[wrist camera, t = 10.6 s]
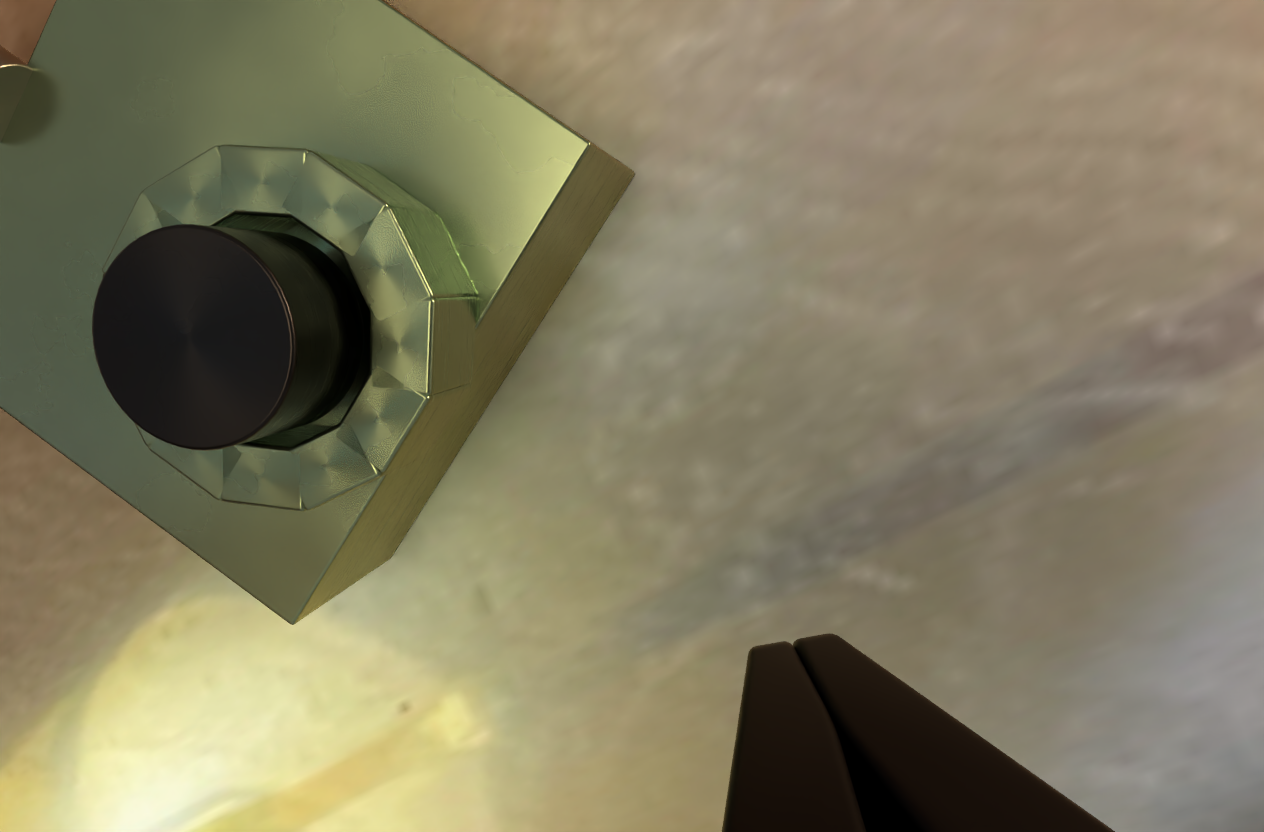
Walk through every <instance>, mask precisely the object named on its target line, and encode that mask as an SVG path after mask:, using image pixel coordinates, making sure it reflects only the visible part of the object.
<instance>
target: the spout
mask: <svg viewBox="0 0 1264 832" xmlns="http://www.w3.org/2000/svg"><path fill="white" fill-rule="evenodd" d="M32 71H33V69H32V68H31V67H30V66H28V65H27V64H26V63H24V62H23V61H22V60H20V59H19V58H17V57H16V56H15V55H13V54H12V53H10V52H9V51H8V50H6V49H5V48H3V47H2V46H1V45H0V142H1V140H2V138H3V136H4V134H5V132H6V129H7V127H8V125H9V123H10V120H11V118H12V116H13V114H14V112H15V109H16V107H17V105H18V103H19V100H20V98H21V96H22V94H23V92H24V89H25V87H26V85H27V83H28V80H29V78H30V76H31V74H32Z"/></svg>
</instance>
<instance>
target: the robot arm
mask: <svg viewBox="0 0 1264 832" xmlns="http://www.w3.org/2000/svg"><path fill="white" fill-rule="evenodd" d="M722 832H1115V831H1113V830H1112V829H1111V828H1109V827H1108V826H1106V825H1105V824H1104V823H1102V822H1101V821H1099V820H1098V819H1097V818H1095V817H1094V816H1092V815H1091V814H1089V813H1088V812H1087V811H1085V810H1084V809H1082V808H1081V807H1080V806H1078V805H1077V804H1075V803H1074V802H1072V801H1071V800H1070V799H1068V798H1067V797H1065V796H1064V795H1063V794H1061V793H1060V792H1058V791H1057V790H1055V789H1054V788H1053V787H1051V786H1050V785H1048V784H1047V783H1046V782H1044V781H1043V780H1041V779H1040V778H1039V777H1037V776H1036V775H1034V774H1033V773H1031V772H1030V771H1029V770H1027V769H1026V768H1024V767H1023V766H1022V765H1020V764H1019V763H1017V762H1016V761H1014V760H1013V759H1012V758H1010V757H1009V756H1007V755H1006V754H1005V753H1003V752H1002V751H1000V750H999V749H997V748H996V747H995V746H993V745H992V744H990V743H989V742H988V741H986V740H985V739H983V738H982V737H981V736H979V735H978V734H976V733H975V732H973V731H972V730H971V729H969V728H968V727H966V726H965V725H964V724H962V723H961V722H959V721H958V720H956V719H955V718H954V717H952V716H951V715H949V714H948V713H947V712H945V711H944V710H942V709H941V708H939V707H938V706H937V705H935V704H934V703H932V702H931V701H930V700H928V699H927V698H925V697H924V696H923V695H921V694H920V693H918V692H917V691H915V690H914V689H913V688H911V687H910V686H908V685H907V684H906V683H904V682H903V681H901V680H900V679H898V678H897V677H896V676H894V675H893V674H891V673H890V672H889V671H887V670H886V669H884V668H883V667H881V666H880V665H879V664H877V663H876V662H874V661H873V660H872V659H870V658H869V657H867V656H866V655H864V654H863V653H862V652H860V651H859V650H857V649H856V648H855V647H853V646H852V645H850V644H849V643H848V642H846V641H845V640H843V639H842V638H840V637H839V636H837V635H834V634H823V635H817V636H811V637H806V638H800V639H797V640H796V641H795V642H794V644H793V645H792V644H791V643H788V642H786V641H783V642H777V643H771V644H766V645H760V646H755V647H753V648H751V649H750V651H749V654H748V660H747V667H746V674H745V680H744V687H743V694H742V700H741V707H740V714H739V720H738V727H737V734H736V740H735V747H734V754H733V761H732V767H731V774H730V781H729V787H728V794H727V801H726V807H725V814H724V821H723V827H722Z"/></svg>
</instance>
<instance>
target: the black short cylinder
mask: <svg viewBox="0 0 1264 832" xmlns="http://www.w3.org/2000/svg"><path fill="white" fill-rule="evenodd" d="M92 336H93V346H94V351H95V356H96V360H97V364H98V367H99V370H100V373H101V375H102V377H103V380H104V382H105V384H106V386H107V388H108V390H109V392H110V393H111V395H112V397H113V398H114V400H115V401H116V402H117V404H118V405H119V406H120V408H121V409H122V410H123V411H124V413H125V414H126V415H127V416H128V417H129V418H130V419H131V420H132V421H133V422H134V423H136V424H137V425H138V426H139V427H140V428H142V429H143V430H144V431H146V432H147V433H149V434H150V435H152V436H154V437H155V438H157V439H160V440H162V441H164V442H166V443H168V444H171V445H174V446H177V447H180V448H185V449H191V450H202V451H209V450H219V449H224V448H228V447H231V446H235V445H238V444H242V443H245V442H249V441H252V440H256V439H259V438H262V437H266V436H269V435H273V434H276V433H279V432H283V431H286V430H290V429H293V428H297V427H300V426H303V425H307V424H309V423H311V422H314V421H316V420H318V419H320V418H321V417H323V416H324V415H326V414H327V413H329V412H330V411H331V410H332V409H334V408H335V407H336V406H337V405H338V404H339V402H340V401H341V400H342V399H343V398H344V397H345V395H346V394H347V392H348V391H349V389H350V388H351V386H352V384H353V382H354V380H355V378H356V376H357V373H358V370H359V367H360V364H361V359H362V354H363V345H364V329H363V321H362V315H361V311H360V307H359V304H358V301H357V298H356V296H355V294H354V291H353V289H352V287H351V285H350V284H349V282H348V280H347V278H346V277H345V275H344V274H343V273H342V271H341V270H340V269H339V267H338V266H337V265H336V264H335V263H334V262H333V261H332V260H331V259H330V258H329V257H328V256H327V255H326V254H325V253H323V252H322V251H321V250H320V249H318V248H317V247H315V246H313V245H312V244H310V243H309V242H307V241H305V240H302V239H300V238H298V237H295V236H292V235H288V234H285V233H278V232H270V231H259V230H249V229H238V228H228V227H217V226H207V225H196V224H177V225H170V226H165V227H161V228H158V229H155V230H152V231H150V232H148V233H146V234H144V235H142V236H140V237H139V238H137V239H136V240H135V241H133V242H132V243H130V244H129V245H128V246H127V247H126V248H124V249H123V250H122V251H121V252H120V253H119V254H118V256H117V257H116V258H115V259H114V261H113V262H112V263H111V264H110V266H109V268H108V270H107V271H106V273H105V275H104V276H103V279H102V281H101V284H100V286H99V288H98V292H97V295H96V299H95V303H94V309H93V316H92Z"/></svg>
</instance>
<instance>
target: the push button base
mask: <svg viewBox="0 0 1264 832" xmlns="http://www.w3.org/2000/svg"><path fill="white" fill-rule="evenodd" d="M28 66H30V67H31V68H32V69H33V71H32V74H31V76H30V78H29V80H28V83H27V85H26V87H25V89H24V92H23V94H22V96H21V98H20V100H19V103H18V105H17V107H16V109H15V112H14V114H13V116H12V118H11V120H10V123H9V125H8V127H7V129H6V132H5V134H4V136H3V138H2V140H1V142H0V408H1V409H3V410H4V411H5V412H7V413H8V414H9V415H11V416H12V417H13V418H15V419H16V420H17V421H19V422H20V423H21V424H23V425H24V426H25V427H27V428H28V429H29V430H31V431H32V432H33V433H35V434H36V435H37V436H39V437H40V438H41V439H43V440H44V441H45V442H47V443H48V444H49V445H51V446H52V447H54V448H55V449H56V450H58V451H59V452H60V453H62V454H63V455H64V456H66V457H67V458H68V459H70V460H71V461H72V462H74V463H75V464H76V465H78V466H79V467H80V468H82V469H83V470H84V471H86V472H87V473H88V474H90V475H91V476H92V477H94V478H95V479H96V480H98V481H99V482H100V483H102V484H103V485H104V486H106V487H107V488H109V489H110V490H111V491H113V492H114V493H115V494H117V495H118V496H119V497H121V498H122V499H123V500H125V501H126V502H127V503H129V504H130V505H131V506H133V507H134V508H135V509H137V510H138V511H139V512H141V513H142V514H143V515H145V516H146V517H147V518H149V519H150V520H151V521H153V522H154V523H155V524H157V525H158V526H159V527H161V528H162V529H164V530H165V531H166V532H168V533H169V534H170V535H172V536H173V537H174V538H176V539H177V540H178V541H180V542H181V543H182V544H184V545H185V546H186V547H188V548H189V549H190V550H192V551H193V552H194V553H196V554H197V555H198V556H200V557H201V558H202V559H204V560H205V561H206V562H208V563H209V564H210V565H212V566H213V567H214V568H216V569H217V570H219V571H220V572H221V573H223V574H224V575H225V576H227V577H228V578H229V579H231V580H232V581H233V582H235V583H236V584H237V585H239V586H240V587H241V588H243V589H244V590H245V591H247V592H248V593H249V594H251V595H252V596H253V597H255V598H256V599H257V600H259V601H260V602H261V603H263V604H264V605H265V606H267V607H268V608H269V609H271V610H272V611H273V612H275V613H276V614H278V615H279V616H280V617H282V618H283V619H284V620H286V621H287V622H288V623H290V624H292V625H294V624H295V623H297V622H298V621H300V620H301V619H303V618H304V617H306V616H307V615H308V614H310V613H311V612H313V611H314V610H316V609H317V608H319V607H320V606H322V605H323V604H325V603H326V602H328V601H329V600H330V599H332V598H333V597H335V596H336V595H338V594H339V593H341V592H342V591H344V590H345V589H347V588H348V587H349V586H351V585H352V584H354V583H355V582H357V581H358V580H360V579H361V578H363V577H364V576H366V575H367V574H369V573H370V572H371V571H373V570H374V569H376V568H377V567H379V566H380V565H382V564H383V563H385V562H386V561H388V560H389V559H390V558H391V557H392V555H393V554H394V552H395V551H396V549H397V547H398V546H399V544H400V543H401V541H402V540H403V538H404V536H405V535H406V533H407V532H408V530H409V529H410V527H411V525H412V524H413V522H414V521H415V519H416V518H417V516H418V514H419V513H420V511H421V510H422V508H423V507H424V505H425V503H426V502H427V500H428V499H429V497H430V496H431V494H432V492H433V491H434V489H435V488H436V486H437V485H438V483H439V481H440V480H441V478H442V477H443V475H444V474H445V472H446V470H447V469H448V467H449V466H450V464H451V463H452V461H453V459H454V458H455V456H456V455H457V453H458V452H459V450H460V448H461V447H462V445H463V444H464V442H465V441H466V439H467V437H468V436H469V434H470V433H471V431H472V430H473V428H474V427H475V425H476V423H477V422H478V420H479V419H480V417H481V416H482V414H483V412H484V411H485V409H486V408H487V406H488V405H489V403H490V401H491V400H492V398H493V397H494V395H495V394H496V392H497V390H498V389H499V387H500V386H501V384H502V383H503V381H504V379H505V378H506V376H507V375H508V373H509V372H510V370H511V368H512V367H513V365H514V364H515V362H516V361H517V359H518V357H519V356H520V354H521V353H522V351H523V350H524V348H525V346H526V345H527V343H528V342H529V340H530V339H531V337H532V335H533V334H534V332H535V331H536V329H537V328H538V326H539V324H540V323H541V321H542V320H543V318H544V317H545V315H546V313H547V312H548V310H549V309H550V307H551V306H552V304H553V302H554V301H555V299H556V298H557V296H558V295H559V293H560V291H561V290H562V288H563V287H564V285H565V284H566V282H567V280H568V279H569V277H570V276H571V274H572V273H573V271H574V270H575V268H576V266H577V265H578V263H579V262H580V260H581V259H582V257H583V255H584V254H585V252H586V251H587V249H588V248H589V246H590V244H591V243H592V241H593V240H594V238H595V237H596V235H597V233H598V232H599V230H600V229H601V227H602V226H603V224H604V222H605V221H606V219H607V218H608V216H609V215H610V213H611V211H612V210H613V208H614V207H615V205H616V204H617V202H618V200H619V199H620V197H621V196H622V194H623V193H624V191H625V189H626V188H627V186H628V185H629V183H630V182H631V180H632V178H633V177H634V175H635V173H634V171H632V170H631V169H630V168H628V167H627V166H625V165H624V164H622V163H621V162H619V161H618V160H616V159H615V158H613V157H612V156H611V155H609V154H608V153H606V152H605V151H603V150H602V149H600V148H599V147H597V146H596V145H594V144H593V143H592V142H590V141H589V140H587V139H586V138H584V137H583V136H581V135H580V134H578V133H577V132H575V131H574V130H573V129H571V128H570V127H568V126H567V125H565V124H564V123H562V122H561V121H559V120H558V119H556V118H555V117H553V116H552V115H551V114H549V113H548V112H546V111H545V110H543V109H542V108H540V107H539V106H537V105H536V104H534V103H533V102H532V101H530V100H529V99H527V98H526V97H524V96H523V95H521V94H520V93H518V92H517V91H515V90H514V89H513V88H511V87H510V86H508V85H507V84H505V83H504V82H502V81H501V80H499V79H498V78H496V77H495V76H494V75H492V74H491V73H489V72H488V71H486V70H485V69H483V68H482V67H480V66H479V65H477V64H476V63H475V62H473V61H472V60H470V59H469V58H467V57H466V56H464V55H463V54H461V53H460V52H458V51H457V50H456V49H454V48H453V47H451V46H450V45H448V44H447V43H445V42H444V41H442V40H441V39H439V38H438V37H437V36H435V35H434V34H432V33H431V32H429V31H428V30H426V29H425V28H423V27H422V26H420V25H419V24H418V23H416V22H415V21H413V20H412V19H410V18H409V17H407V16H406V15H404V14H403V13H401V12H400V11H398V10H397V9H396V8H394V7H393V6H391V5H390V4H388V3H387V2H385V1H384V0H56V2H55V4H54V7H53V9H52V11H51V13H50V16H49V18H48V20H47V22H46V25H45V27H44V29H43V31H42V33H41V36H40V38H39V40H38V42H37V45H36V47H35V49H34V51H33V54H32V56H31V58H30V60H29V63H28ZM177 224H196V225H207V226H217V227H228V228H238V229H249V230H259V231H270V232H278V233H285V234H288V235H292V236H295V237H298V238H300V239H302V240H305V241H307V242H309V243H310V244H312V245H313V246H315V247H317V248H318V249H320V250H321V251H322V252H323V253H325V254H326V255H327V256H328V257H329V258H330V259H331V260H332V261H333V262H334V263H335V264H336V265H337V266H338V267H339V269H340V270H341V271H342V273H343V274H344V275H345V277H346V278H347V280H348V282H349V284H350V285H351V287H352V289H353V291H354V294H355V296H356V298H357V301H358V304H359V307H360V311H361V315H362V321H363V329H364V345H363V354H362V359H361V364H360V367H359V370H358V373H357V376H356V378H355V380H354V382H353V384H352V386H351V388H350V389H349V391H348V392H347V394H346V395H345V397H344V398H343V399H342V400H341V401H340V402H339V404H338V405H337V406H336V407H335V408H334V409H332V410H331V411H330V412H329V413H327V414H326V415H324V416H323V417H321V418H320V419H318V420H316V421H314V422H311V423H309V424H307V425H303V426H300V427H297V428H293V429H290V430H286V431H283V432H279V433H276V434H273V435H269V436H266V437H262V438H259V439H256V440H252V441H249V442H245V443H242V444H238V445H235V446H231V447H228V448H224V449H219V450H209V451H202V450H191V449H185V448H180V447H177V446H174V445H171V444H168V443H166V442H164V441H162V440H160V439H157V438H155V437H154V436H152V435H150V434H149V433H147V432H146V431H144V430H143V429H142V428H140V427H139V426H138V425H137V424H136V423H134V422H133V421H132V420H131V419H130V418H129V417H128V416H127V415H126V414H125V413H124V411H123V410H122V409H121V408H120V406H119V405H118V404H117V402H116V401H115V400H114V398H113V397H112V395H111V393H110V392H109V390H108V388H107V386H106V384H105V382H104V380H103V377H102V375H101V373H100V370H99V367H98V364H97V360H96V356H95V351H94V346H93V336H92V316H93V309H94V303H95V299H96V295H97V292H98V288H99V286H100V284H101V281H102V279H103V276H104V275H105V273H106V271H107V270H108V268H109V266H110V264H111V263H112V262H113V261H114V259H115V258H116V257H117V256H118V254H119V253H120V252H121V251H122V250H123V249H124V248H126V247H127V246H128V245H129V244H130V243H132V242H133V241H135V240H136V239H137V238H139V237H140V236H142V235H144V234H146V233H148V232H150V231H152V230H155V229H158V228H161V227H165V226H170V225H177Z"/></svg>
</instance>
